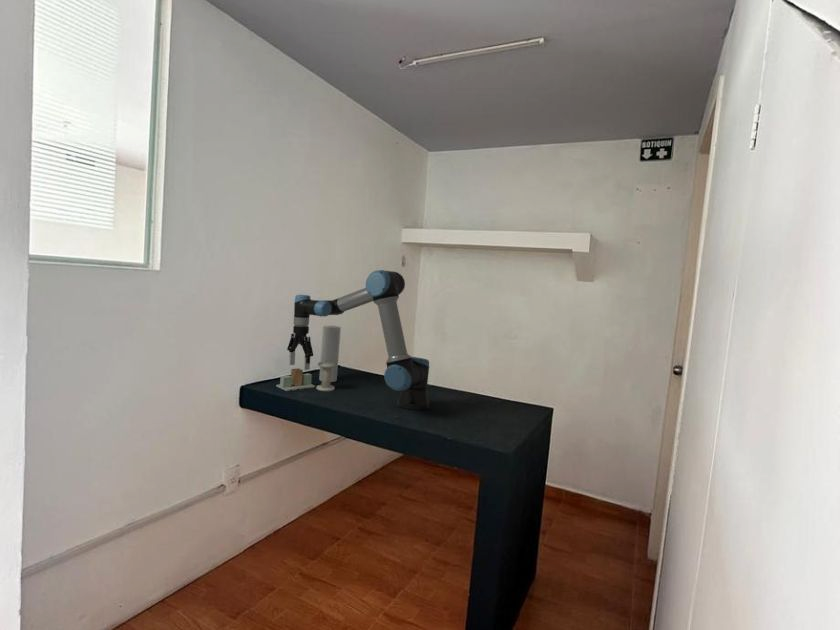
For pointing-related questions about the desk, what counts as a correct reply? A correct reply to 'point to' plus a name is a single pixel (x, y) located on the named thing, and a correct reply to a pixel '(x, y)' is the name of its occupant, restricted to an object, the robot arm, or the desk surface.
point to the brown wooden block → (296, 377)
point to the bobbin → (326, 376)
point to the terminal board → (286, 385)
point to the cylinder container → (330, 349)
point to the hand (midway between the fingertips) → (299, 367)
